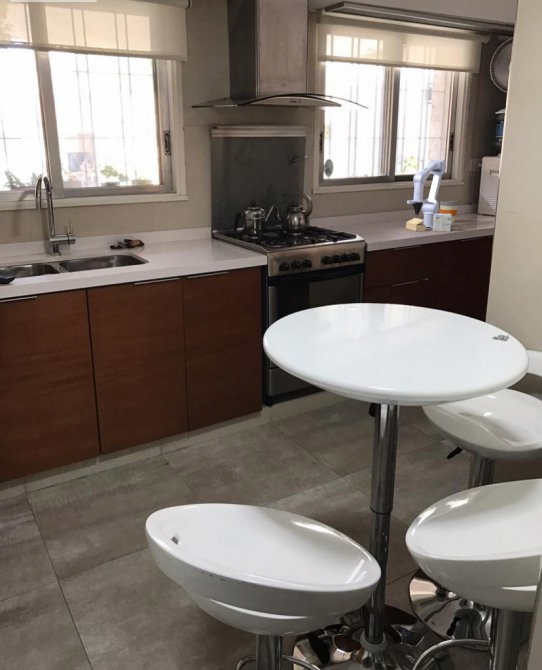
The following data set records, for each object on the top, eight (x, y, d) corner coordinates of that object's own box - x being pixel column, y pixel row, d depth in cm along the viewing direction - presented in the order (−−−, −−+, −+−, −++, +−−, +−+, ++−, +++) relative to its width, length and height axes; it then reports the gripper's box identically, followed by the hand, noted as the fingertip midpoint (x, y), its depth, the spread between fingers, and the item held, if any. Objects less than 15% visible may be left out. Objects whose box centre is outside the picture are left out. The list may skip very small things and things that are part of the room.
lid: (406, 222, 392) (406, 222, 391) (414, 218, 392) (414, 217, 392) (416, 225, 380) (415, 224, 380) (424, 220, 381) (424, 219, 381)
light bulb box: (448, 230, 389) (450, 213, 385) (450, 231, 382) (452, 214, 379) (432, 229, 390) (433, 213, 386) (433, 231, 383) (435, 214, 380)
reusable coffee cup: (447, 224, 416) (449, 202, 411) (434, 222, 426) (436, 200, 422) (460, 222, 422) (462, 201, 417) (447, 220, 432) (449, 199, 428)
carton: (405, 229, 393) (406, 222, 392) (415, 228, 395) (415, 222, 394) (415, 231, 381) (416, 225, 380) (425, 231, 383) (426, 225, 382)
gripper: (411, 194, 375) (410, 215, 379) (431, 193, 379) (430, 215, 383) (406, 193, 381) (404, 214, 386) (426, 192, 385) (424, 213, 390)
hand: (416, 214), depth 385 cm, fingers closed
